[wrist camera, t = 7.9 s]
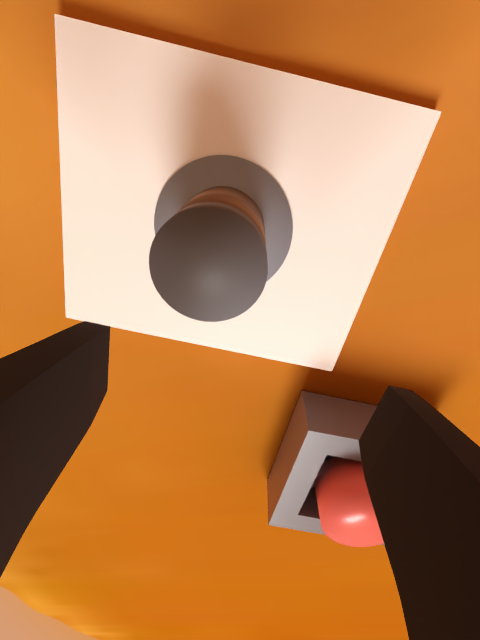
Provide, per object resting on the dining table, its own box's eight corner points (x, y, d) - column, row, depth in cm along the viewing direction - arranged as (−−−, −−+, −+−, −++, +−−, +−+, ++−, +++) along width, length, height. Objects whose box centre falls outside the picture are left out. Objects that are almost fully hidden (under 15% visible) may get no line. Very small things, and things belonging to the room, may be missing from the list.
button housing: (434, 417, 20) (461, 459, 17) (379, 500, 23) (395, 546, 21) (301, 390, 19) (308, 430, 17) (267, 480, 23) (268, 524, 20)
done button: (404, 460, 19) (424, 503, 16) (373, 508, 21) (387, 552, 19) (328, 446, 18) (337, 487, 16) (304, 495, 20) (309, 539, 18)
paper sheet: (435, 112, 13) (442, 111, 12) (330, 366, 18) (332, 372, 18) (61, 18, 12) (53, 12, 11) (70, 313, 18) (64, 318, 17)
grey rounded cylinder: (273, 196, 14) (281, 223, 9) (254, 277, 16) (253, 331, 11) (187, 176, 14) (154, 194, 9) (176, 260, 15) (144, 309, 11)
